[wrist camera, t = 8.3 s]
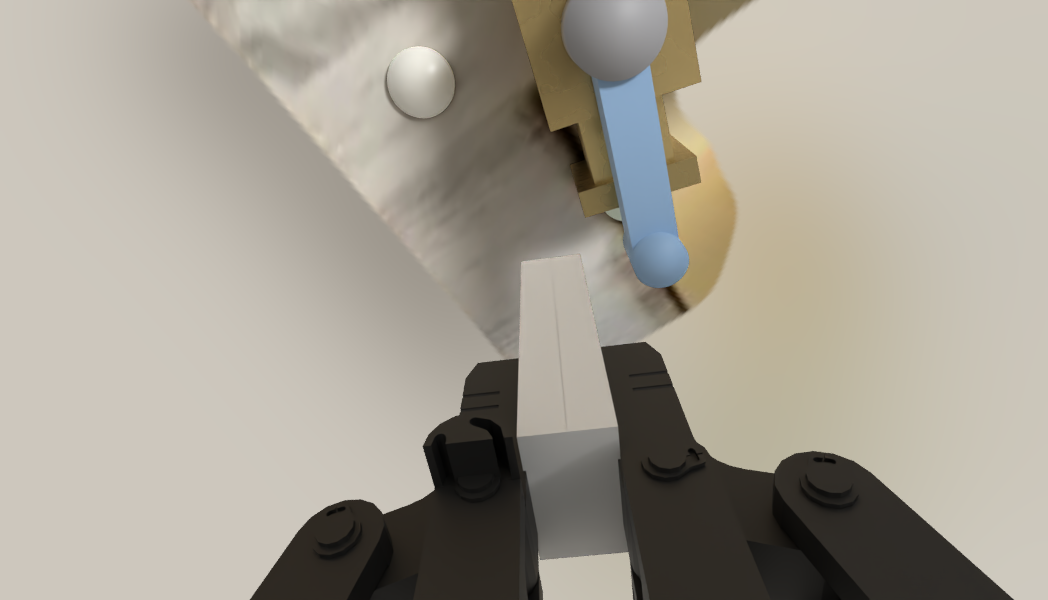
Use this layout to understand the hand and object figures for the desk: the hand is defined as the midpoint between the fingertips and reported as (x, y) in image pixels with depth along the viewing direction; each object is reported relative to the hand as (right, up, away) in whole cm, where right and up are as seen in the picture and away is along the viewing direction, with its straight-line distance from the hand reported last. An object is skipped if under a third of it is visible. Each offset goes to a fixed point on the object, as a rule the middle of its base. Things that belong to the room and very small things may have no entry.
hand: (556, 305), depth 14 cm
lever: (+4, +9, +14) cm, 18 cm away
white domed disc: (-8, +14, +22) cm, 27 cm away
